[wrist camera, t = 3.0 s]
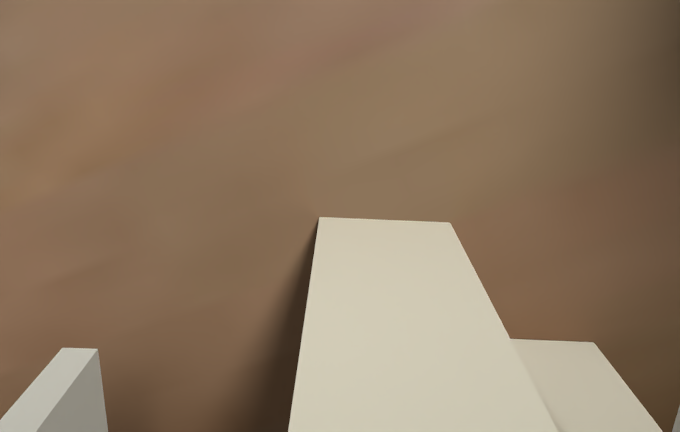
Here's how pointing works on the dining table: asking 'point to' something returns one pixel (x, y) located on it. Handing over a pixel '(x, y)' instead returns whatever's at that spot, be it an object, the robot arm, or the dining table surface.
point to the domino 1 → (405, 338)
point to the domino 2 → (582, 388)
